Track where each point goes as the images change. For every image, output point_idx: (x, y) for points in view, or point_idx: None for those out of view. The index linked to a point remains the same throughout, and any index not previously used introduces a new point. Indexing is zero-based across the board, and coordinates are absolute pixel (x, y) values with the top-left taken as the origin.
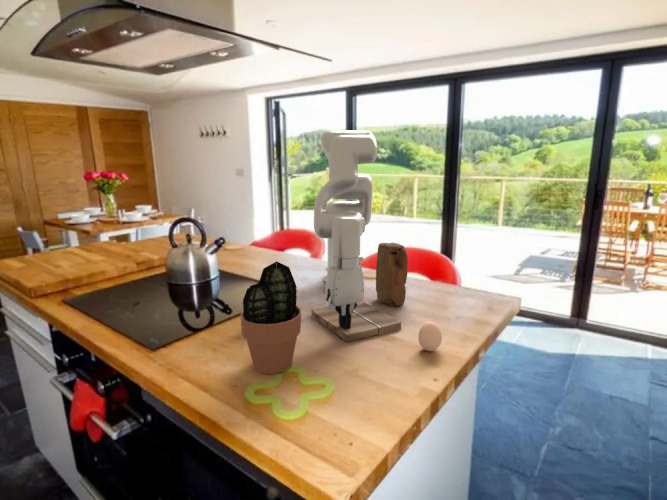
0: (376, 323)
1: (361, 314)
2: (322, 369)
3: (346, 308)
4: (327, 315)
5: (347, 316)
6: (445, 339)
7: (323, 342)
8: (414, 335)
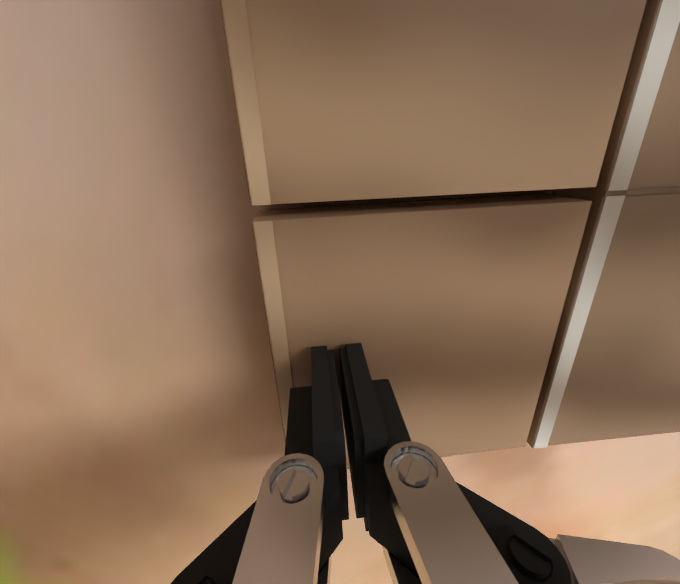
0: (570, 394)
1: (632, 200)
2: (91, 563)
3: (398, 516)
4: (319, 24)
5: (346, 514)
6: (677, 521)
7: (157, 382)
8: (626, 467)
